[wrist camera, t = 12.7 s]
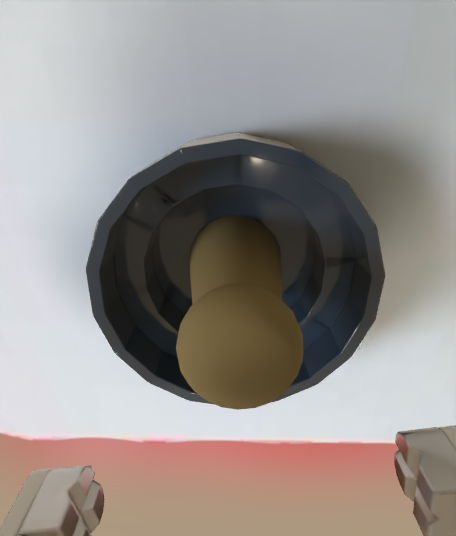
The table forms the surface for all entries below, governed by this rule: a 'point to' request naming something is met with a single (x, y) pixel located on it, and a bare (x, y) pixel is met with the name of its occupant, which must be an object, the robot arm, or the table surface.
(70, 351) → the table surface
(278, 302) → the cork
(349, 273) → the bowl
